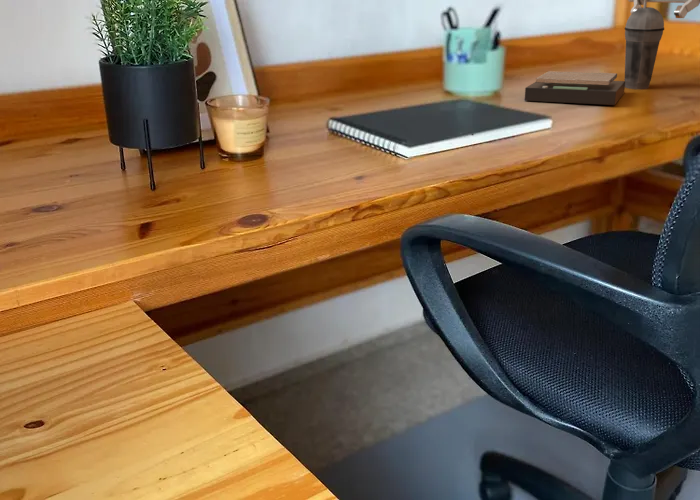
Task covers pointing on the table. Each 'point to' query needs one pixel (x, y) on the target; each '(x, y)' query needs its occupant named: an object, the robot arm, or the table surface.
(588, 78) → the pan
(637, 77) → the beverage cup
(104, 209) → the table surface
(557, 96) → the scale
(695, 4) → the robot arm
